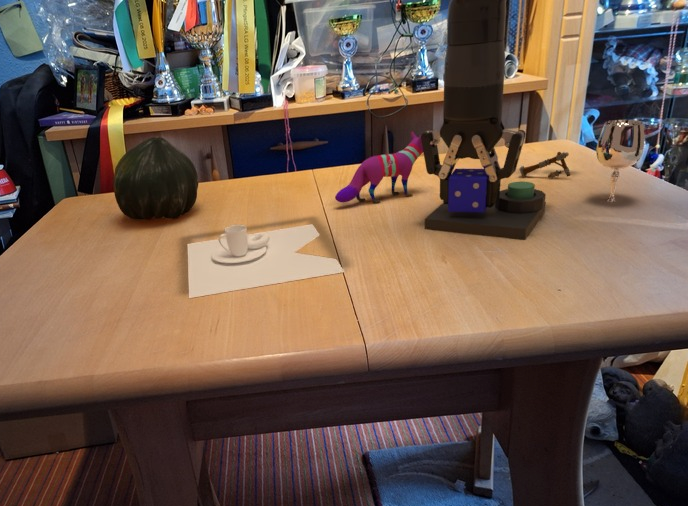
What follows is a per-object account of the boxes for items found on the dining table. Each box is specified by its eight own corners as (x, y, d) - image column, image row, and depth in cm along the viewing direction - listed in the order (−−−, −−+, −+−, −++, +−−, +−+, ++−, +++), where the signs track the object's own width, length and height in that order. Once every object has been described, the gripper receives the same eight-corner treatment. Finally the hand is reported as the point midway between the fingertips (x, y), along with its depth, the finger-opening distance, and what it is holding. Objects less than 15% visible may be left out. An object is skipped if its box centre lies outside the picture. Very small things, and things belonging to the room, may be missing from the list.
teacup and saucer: (268, 240, 85) (264, 214, 83) (276, 259, 78) (272, 231, 76) (210, 249, 84) (206, 223, 82) (213, 269, 77) (208, 242, 75)
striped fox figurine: (435, 192, 98) (436, 132, 93) (340, 212, 93) (336, 149, 89) (424, 187, 101) (425, 129, 96) (332, 206, 97) (327, 145, 92)
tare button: (536, 193, 82) (537, 182, 81) (530, 201, 79) (531, 189, 78) (510, 192, 84) (511, 180, 83) (504, 199, 81) (504, 187, 80)
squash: (112, 181, 106) (100, 128, 93) (190, 171, 110) (190, 118, 97) (125, 246, 101) (114, 199, 88) (206, 232, 105) (208, 185, 92)
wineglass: (589, 212, 81) (602, 127, 76) (587, 200, 86) (598, 119, 81) (635, 213, 79) (651, 126, 74) (630, 200, 84) (644, 118, 79)
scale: (546, 212, 83) (549, 189, 82) (527, 240, 75) (529, 215, 73) (452, 204, 91) (453, 183, 89) (424, 229, 82) (424, 206, 81)
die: (488, 202, 82) (490, 168, 80) (484, 213, 78) (486, 178, 76) (453, 201, 84) (454, 168, 82) (447, 212, 80) (448, 177, 78)
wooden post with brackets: (575, 174, 95) (566, 150, 94) (527, 191, 100) (518, 167, 99) (576, 172, 96) (567, 147, 96) (529, 188, 102) (520, 165, 101)
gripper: (538, 73, 72) (527, 200, 80) (431, 78, 80) (430, 193, 88) (524, 82, 67) (513, 217, 74) (410, 86, 75) (411, 208, 82)
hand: (468, 203), depth 81 cm, fingers closed on die, 5 cm apart
